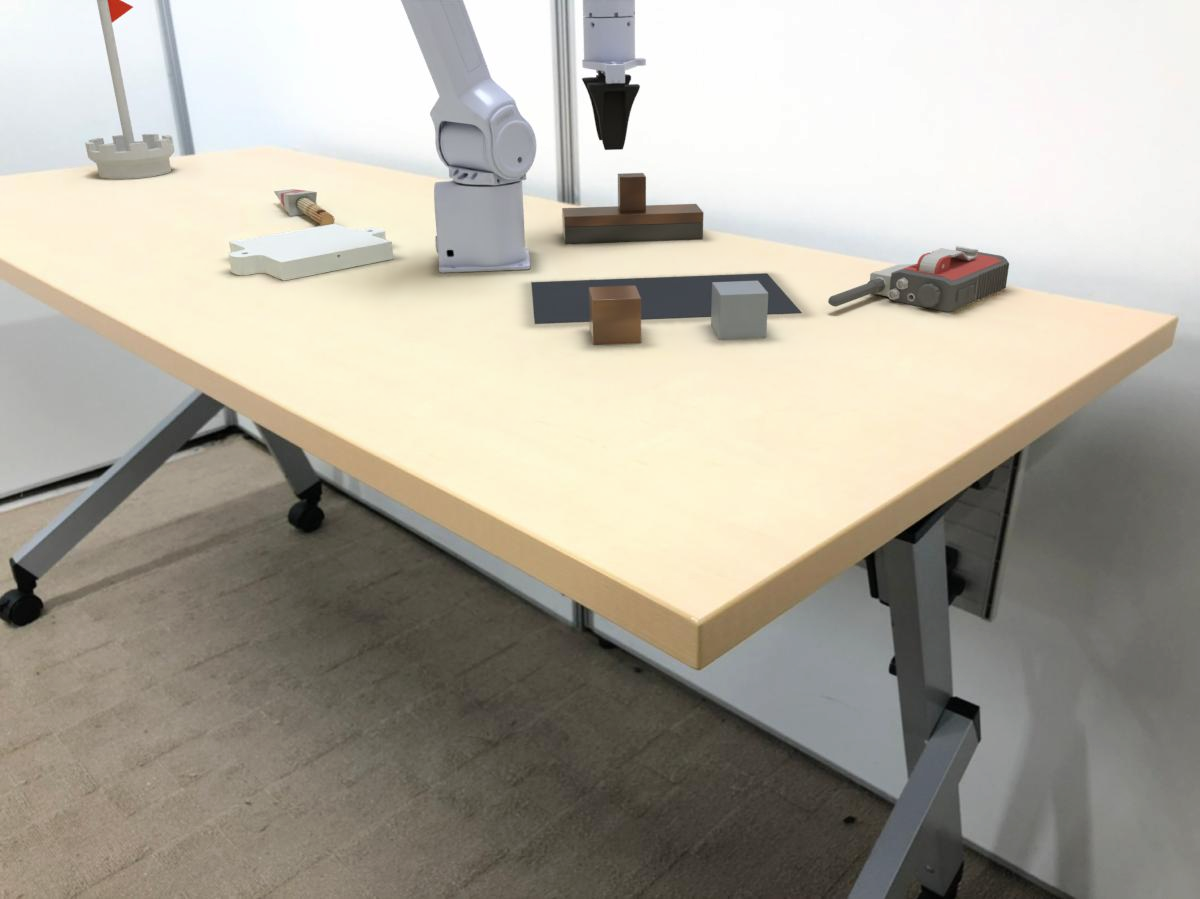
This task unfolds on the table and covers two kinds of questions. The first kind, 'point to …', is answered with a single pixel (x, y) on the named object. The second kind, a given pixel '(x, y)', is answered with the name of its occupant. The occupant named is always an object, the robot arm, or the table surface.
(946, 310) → the walkie-talkie
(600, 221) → the board eraser
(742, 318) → the block slate
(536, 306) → the mat
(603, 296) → the block brown
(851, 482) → the table surface
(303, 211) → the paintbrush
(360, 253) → the mounting plate
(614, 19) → the robot arm
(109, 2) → the flag stand
